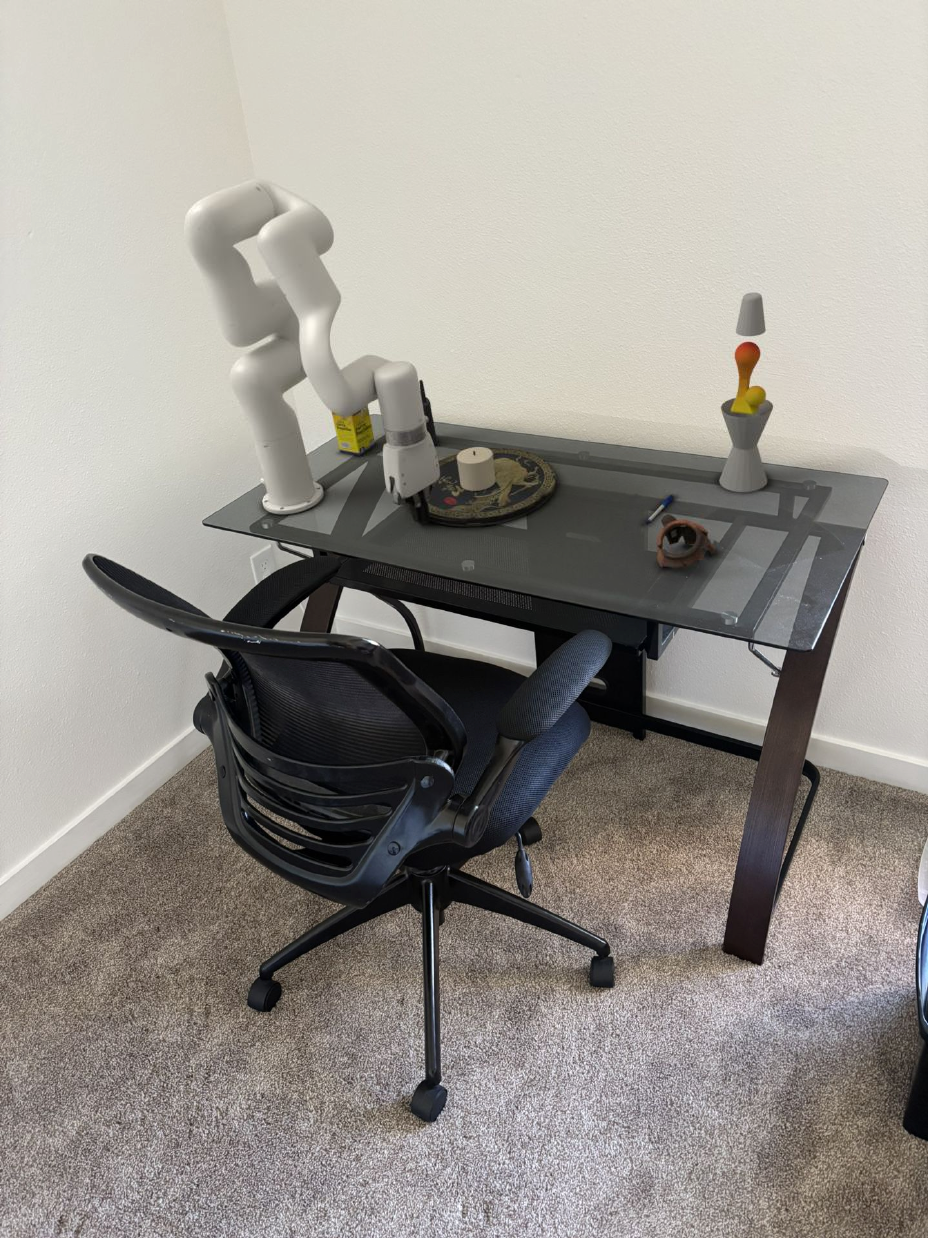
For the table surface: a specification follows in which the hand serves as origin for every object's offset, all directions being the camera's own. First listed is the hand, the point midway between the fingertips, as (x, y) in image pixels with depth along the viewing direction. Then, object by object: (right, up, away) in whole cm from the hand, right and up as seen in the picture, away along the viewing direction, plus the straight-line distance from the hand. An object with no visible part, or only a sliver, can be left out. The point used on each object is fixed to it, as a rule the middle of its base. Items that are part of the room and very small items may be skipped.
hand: (421, 520), depth 179 cm
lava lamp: (+61, +7, -1) cm, 61 cm away
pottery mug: (+45, -8, -19) cm, 50 cm away
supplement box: (-16, +19, +32) cm, 40 cm away
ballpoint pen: (+44, +1, -6) cm, 45 cm away
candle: (+11, +8, +8) cm, 16 cm away
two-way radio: (0, +20, +30) cm, 36 cm away
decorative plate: (+12, +7, +9) cm, 16 cm away
